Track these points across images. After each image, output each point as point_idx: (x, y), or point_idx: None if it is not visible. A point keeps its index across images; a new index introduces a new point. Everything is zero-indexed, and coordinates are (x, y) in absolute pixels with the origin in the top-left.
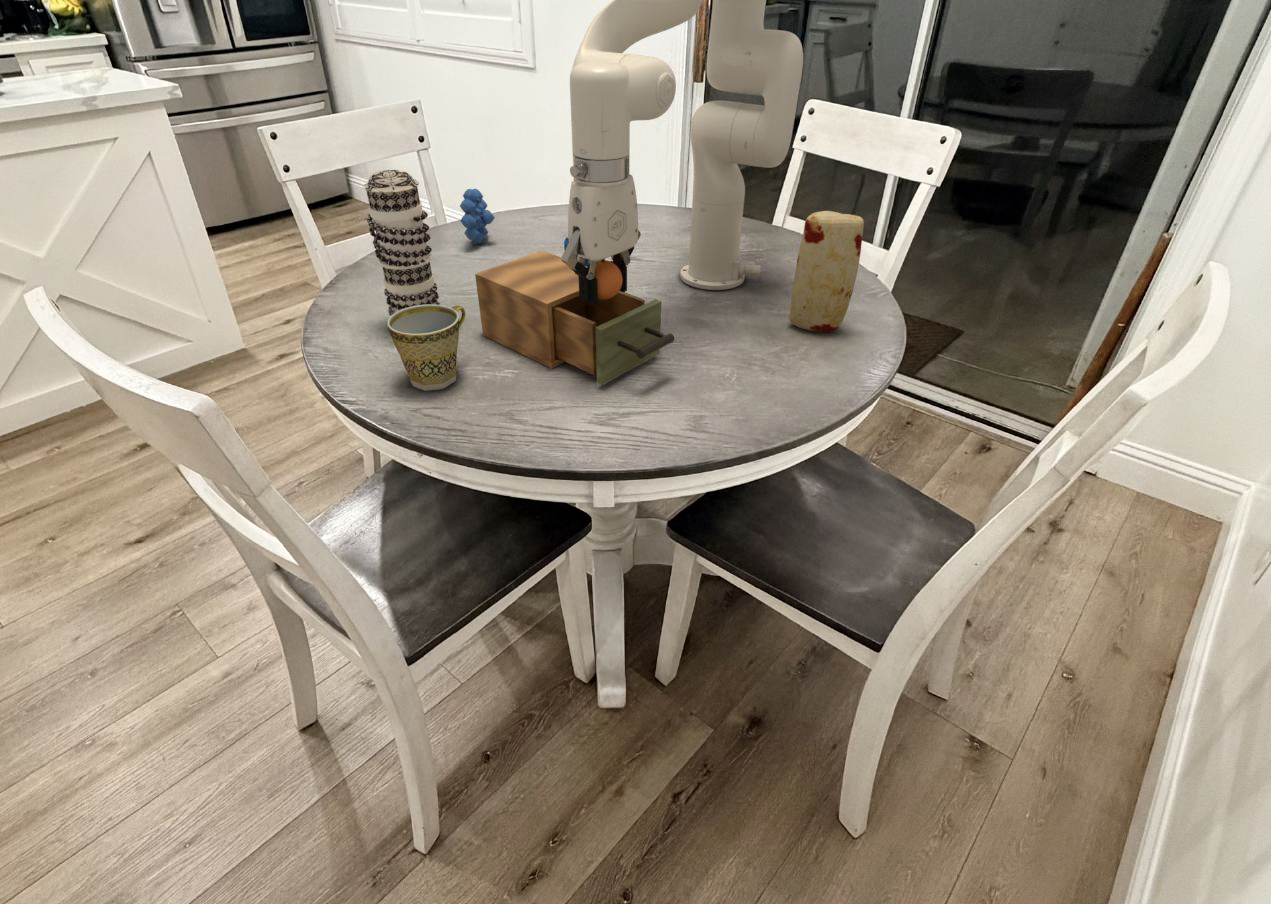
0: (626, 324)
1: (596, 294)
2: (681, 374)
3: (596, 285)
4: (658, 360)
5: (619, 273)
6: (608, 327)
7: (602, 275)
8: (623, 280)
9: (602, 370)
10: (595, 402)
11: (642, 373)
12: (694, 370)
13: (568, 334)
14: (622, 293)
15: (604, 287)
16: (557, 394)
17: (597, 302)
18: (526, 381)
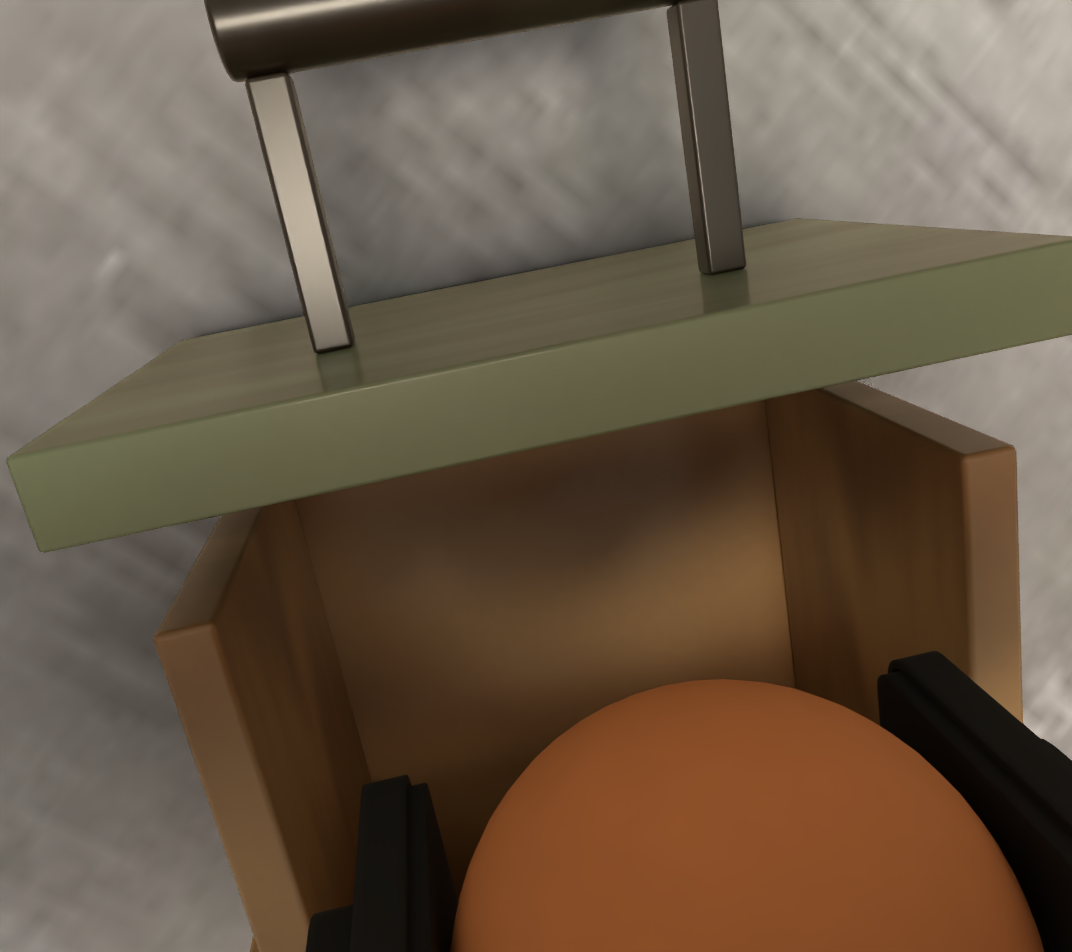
0: (657, 309)
1: (976, 718)
2: (180, 37)
3: (1060, 796)
4: (207, 324)
5: (628, 908)
6: (971, 259)
7: (983, 930)
8: (421, 885)
9: (848, 222)
10: (906, 124)
11: (423, 241)
12: (46, 18)
13: None
14: (285, 887)
15: (905, 752)
16: (1005, 354)
17: (883, 675)
18: (1032, 582)
